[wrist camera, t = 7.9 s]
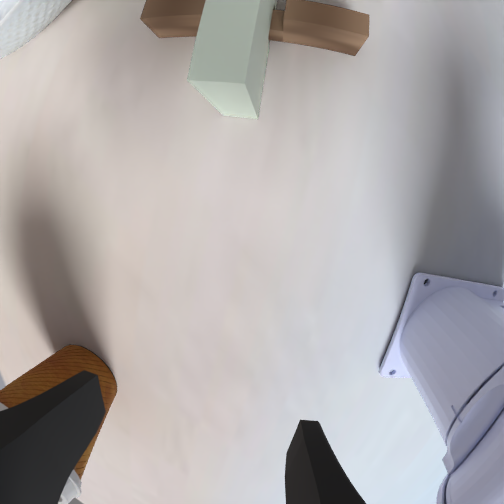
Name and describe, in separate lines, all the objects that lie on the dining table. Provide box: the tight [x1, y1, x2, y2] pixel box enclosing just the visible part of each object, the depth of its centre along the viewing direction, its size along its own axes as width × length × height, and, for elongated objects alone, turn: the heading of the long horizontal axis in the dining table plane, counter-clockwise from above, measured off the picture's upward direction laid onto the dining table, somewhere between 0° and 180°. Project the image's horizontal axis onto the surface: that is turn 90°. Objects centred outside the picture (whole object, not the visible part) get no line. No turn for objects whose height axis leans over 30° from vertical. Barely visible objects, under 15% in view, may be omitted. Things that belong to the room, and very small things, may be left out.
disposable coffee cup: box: [0, 345, 117, 504], centre depth 16 cm, size 10×10×12 cm
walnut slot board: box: [140, 0, 369, 56], centre depth 12 cm, size 12×2×3 cm, turn 82°
